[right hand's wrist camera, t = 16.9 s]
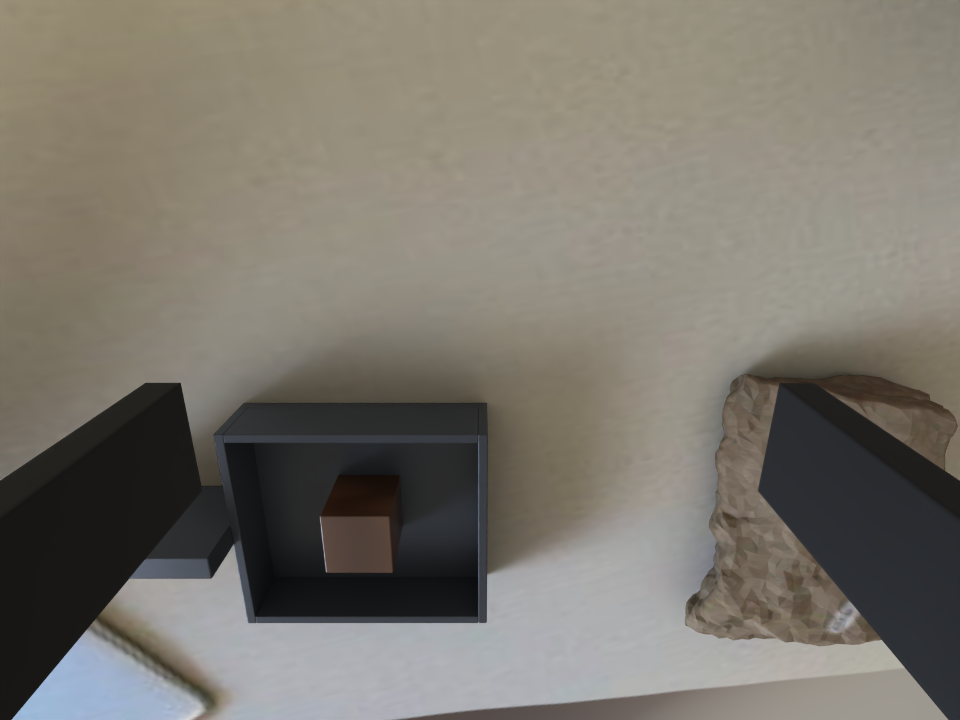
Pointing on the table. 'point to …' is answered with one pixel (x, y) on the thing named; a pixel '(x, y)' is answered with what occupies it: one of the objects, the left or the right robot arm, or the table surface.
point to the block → (362, 524)
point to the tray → (304, 492)
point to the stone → (766, 538)
